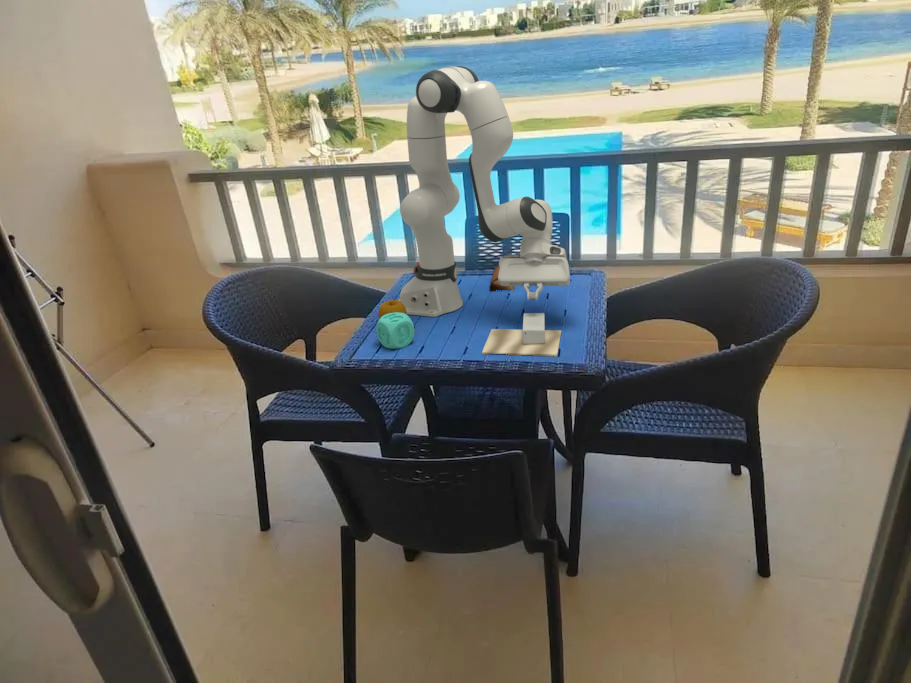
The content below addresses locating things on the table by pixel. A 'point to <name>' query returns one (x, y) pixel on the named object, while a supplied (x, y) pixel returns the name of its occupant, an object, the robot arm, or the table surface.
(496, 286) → the sunglasses case
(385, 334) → the decorative dice
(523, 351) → the birch board
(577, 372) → the table surface
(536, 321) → the skincare box
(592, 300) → the table surface
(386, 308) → the apple
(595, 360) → the table surface
